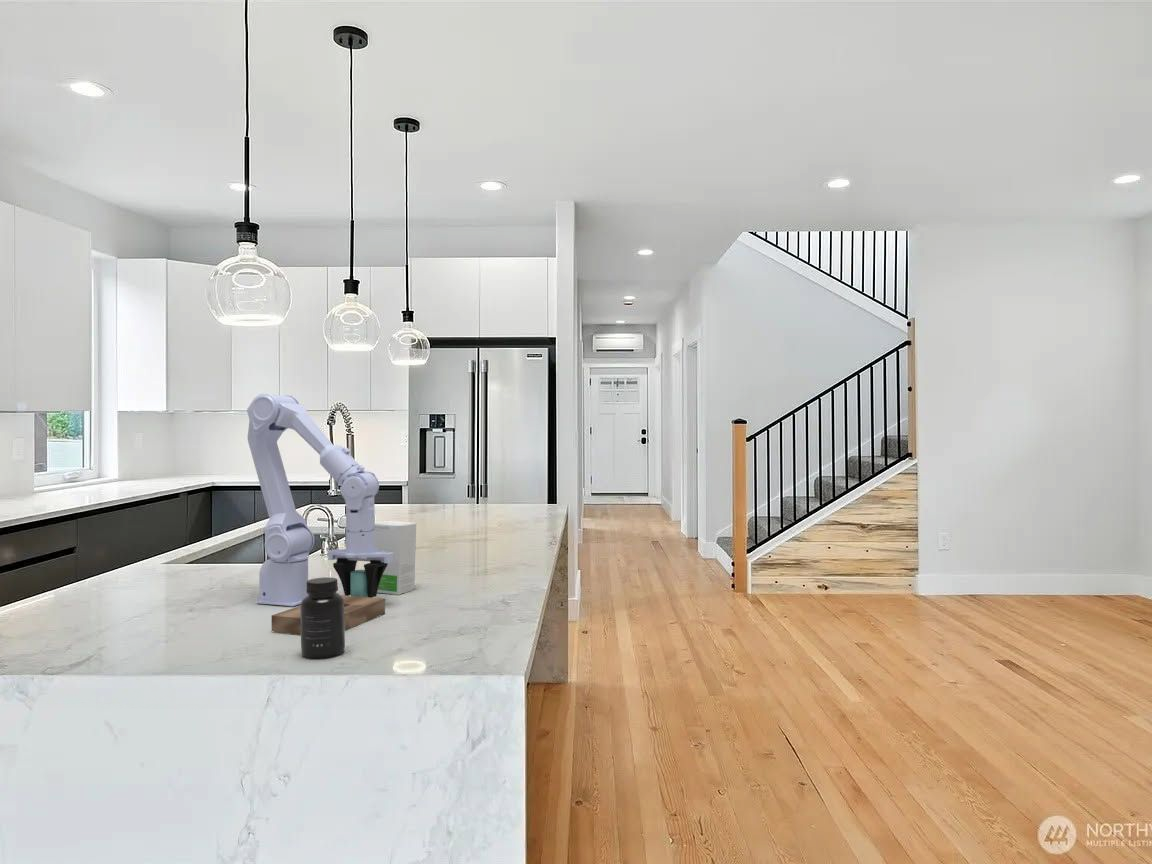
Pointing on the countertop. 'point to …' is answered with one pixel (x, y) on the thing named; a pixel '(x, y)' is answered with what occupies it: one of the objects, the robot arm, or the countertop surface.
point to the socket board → (354, 614)
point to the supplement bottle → (322, 620)
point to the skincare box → (397, 555)
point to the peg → (359, 583)
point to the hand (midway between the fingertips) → (360, 595)
